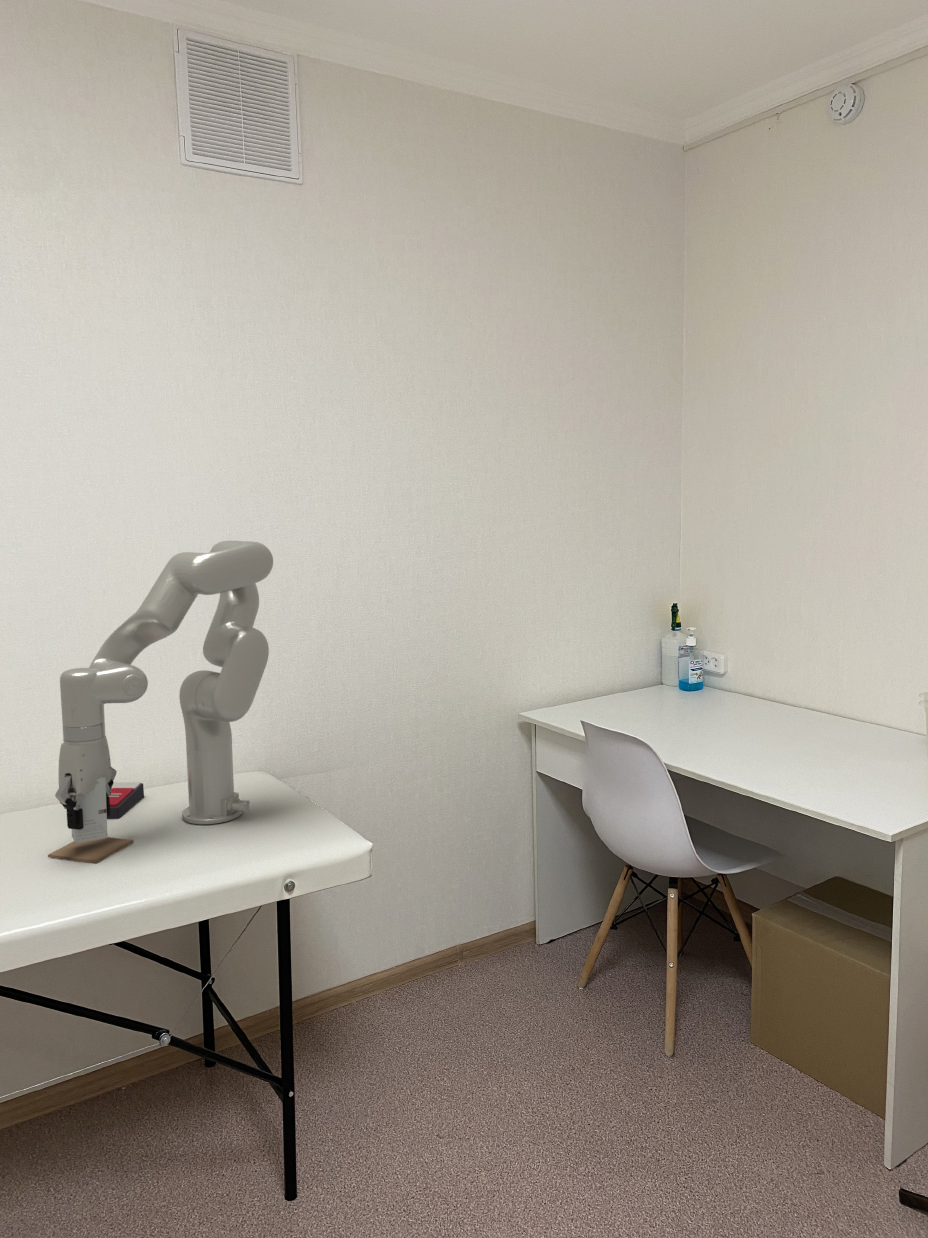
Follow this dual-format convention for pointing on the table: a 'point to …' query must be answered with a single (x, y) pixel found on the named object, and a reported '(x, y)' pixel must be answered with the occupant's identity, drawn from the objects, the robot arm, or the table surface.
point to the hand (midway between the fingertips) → (89, 821)
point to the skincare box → (93, 814)
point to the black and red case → (124, 797)
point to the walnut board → (91, 850)
